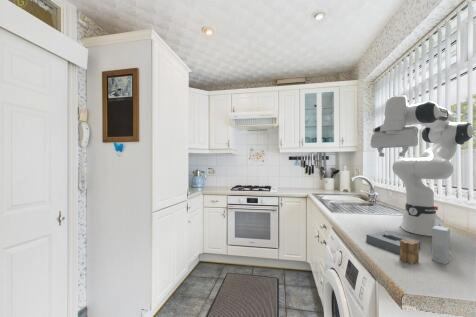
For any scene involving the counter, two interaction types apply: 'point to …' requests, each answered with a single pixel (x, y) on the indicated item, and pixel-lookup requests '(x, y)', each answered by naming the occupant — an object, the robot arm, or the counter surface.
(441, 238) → the skincare box
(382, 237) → the slate socket block
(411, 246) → the brown wooden block
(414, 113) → the robot arm
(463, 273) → the counter surface
